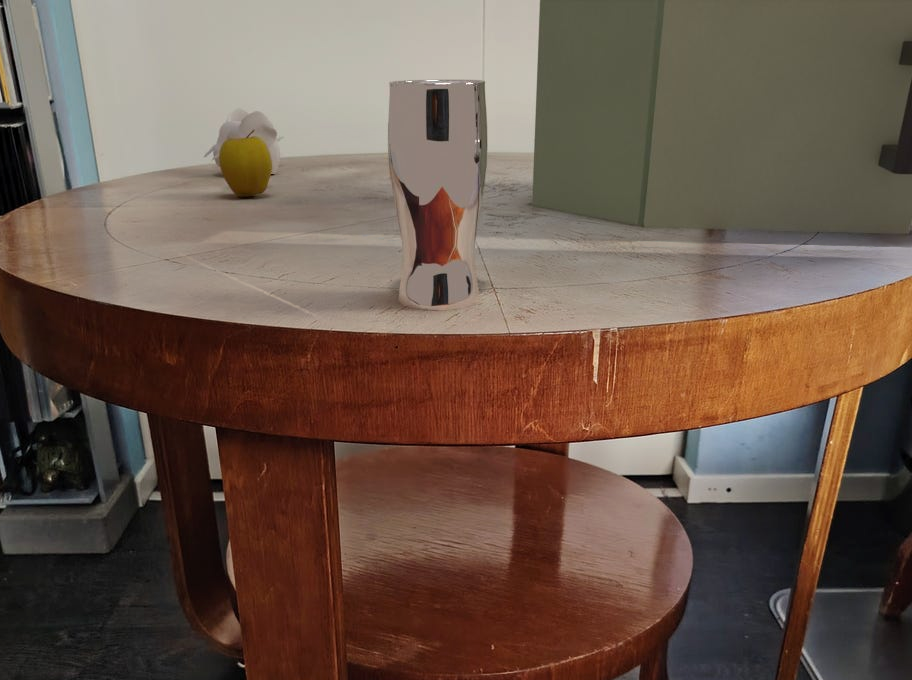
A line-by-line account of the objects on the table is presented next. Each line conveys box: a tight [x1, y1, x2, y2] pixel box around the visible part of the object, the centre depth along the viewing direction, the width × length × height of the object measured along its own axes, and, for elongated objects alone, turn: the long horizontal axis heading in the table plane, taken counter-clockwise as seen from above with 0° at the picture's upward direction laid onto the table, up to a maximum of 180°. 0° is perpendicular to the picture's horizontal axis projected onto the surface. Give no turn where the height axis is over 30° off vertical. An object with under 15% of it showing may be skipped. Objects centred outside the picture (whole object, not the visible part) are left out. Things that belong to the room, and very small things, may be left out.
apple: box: [219, 130, 272, 198], centre depth 113 cm, size 6×6×8 cm
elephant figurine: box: [203, 108, 285, 175], centre depth 133 cm, size 10×12×9 cm
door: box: [643, 0, 912, 235], centre depth 78 cm, size 7×24×24 cm, turn 79°
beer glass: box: [387, 79, 489, 312], centre depth 64 cm, size 7×7×15 cm
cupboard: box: [531, 0, 665, 226], centre depth 95 cm, size 16×24×24 cm, turn 125°
